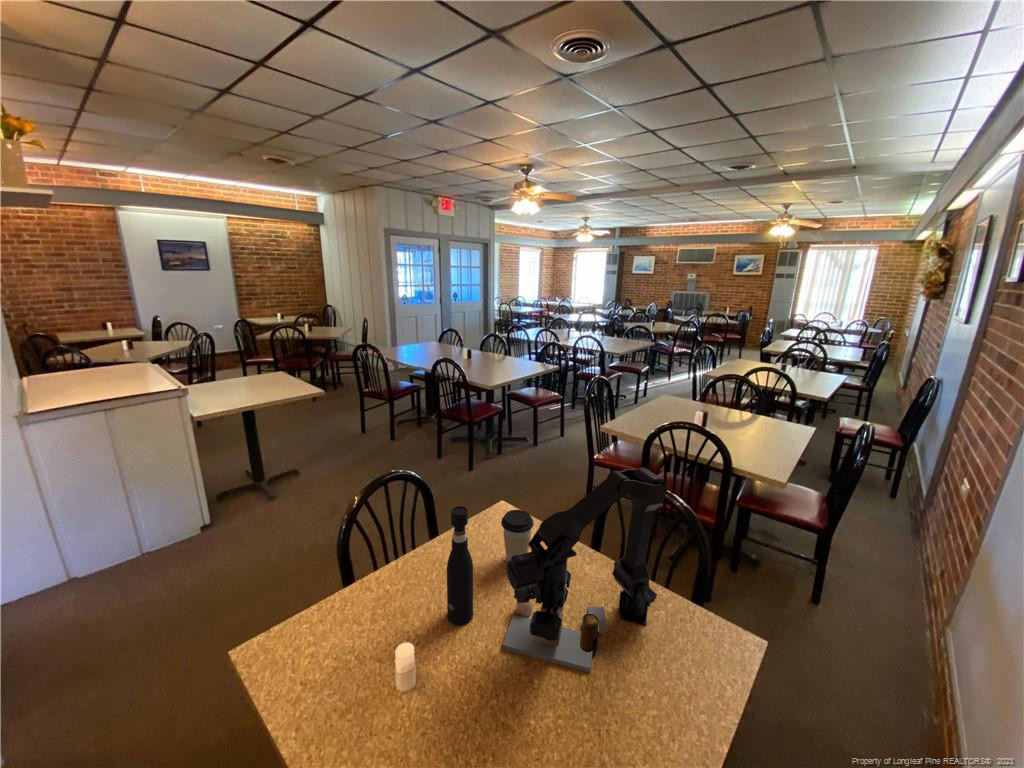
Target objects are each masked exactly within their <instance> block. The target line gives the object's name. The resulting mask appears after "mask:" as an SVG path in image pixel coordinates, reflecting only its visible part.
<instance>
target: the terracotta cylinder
mask: <svg viewBox="0 0 1024 768" xmlns="http://www.w3.org/2000/svg"><path fill="white" fill-rule="evenodd" d="M515 609H516V610H515V613H516V616H520V617H524V618H528V619H529V617H532V615H533V599H530V600H529V602H528V603H519V602H517V601H516V608H515Z"/></svg>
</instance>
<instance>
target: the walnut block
mask: <svg viewBox="0 0 1024 768" xmlns="http://www.w3.org/2000/svg"><path fill="white" fill-rule="evenodd" d="M542 604H543V603H541V607H540V610H539V611H542V612H545V611H546V609H547V608H546V609H543V608H542ZM552 611H553V608H552ZM551 613H552V612H551ZM557 613H559V615H560V618H561V619H562V622H563V618H564V607H562V608H561V607H558V611H557ZM562 627H563V624H562V625H561V630H560V635H559V639H558V640H556V641H554V640H550V641H548V640H545V638H542V637H538V636H537V641H539V642H543V643H547V644H551V645H555V646H559V641H560V636H561V631H562Z"/></svg>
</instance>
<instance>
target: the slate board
mask: <svg viewBox="0 0 1024 768" xmlns="http://www.w3.org/2000/svg"><path fill="white" fill-rule="evenodd" d="M531 619H532V618H529V617H528V618H524V617H520V616H518V615H517V614H516V615H515V614H513V615H512V617H511V621H510V623H509V626H508V630H507V633H506V635H505V637H504V640H503V643H502V649H503V650H505V651H508V652H512V653H517V654H520V655H525V656H527V657H531V658H534V659H538V660H543V661H546V662H549V663H553V664H557V665H561V666H564V667H568V668H571V669H575V670H579V671H583V672H586V673H591V668H592V660H593V659H592V658H593V652H594V650H593V651H591V652H585V651H583V650H582V649H581V647H580V632H581V631H580V630H576V629H572V628H567V627H563V626H562V631H561V636H560V641H559V646H555V645H551V644H547V643H543V642H539V641H537V636H534V635H531V633H530V623H531Z"/></svg>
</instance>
